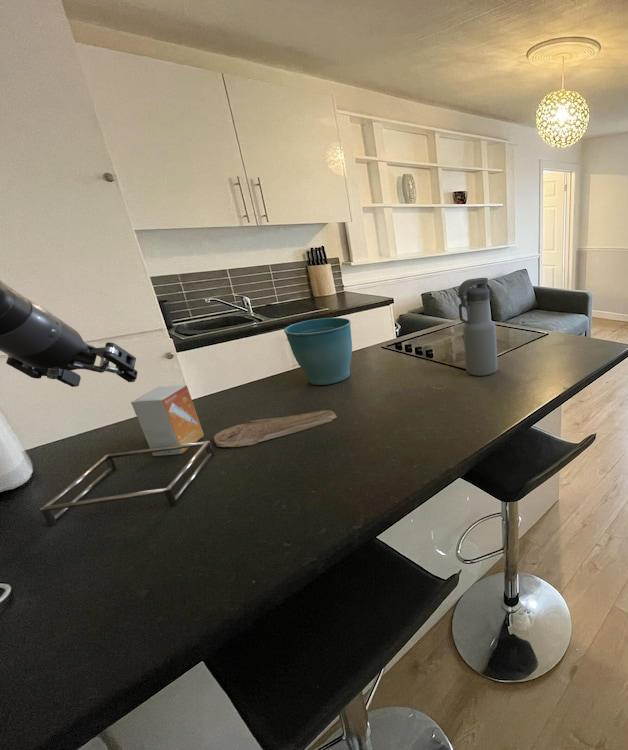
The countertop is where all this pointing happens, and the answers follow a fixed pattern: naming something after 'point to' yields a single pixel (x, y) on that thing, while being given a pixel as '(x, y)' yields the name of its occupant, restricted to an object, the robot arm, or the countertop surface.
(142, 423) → the small box
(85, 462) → the countertop surface
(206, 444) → the metal rack
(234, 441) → the fish fossil
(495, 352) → the water bottle
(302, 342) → the flower pot
